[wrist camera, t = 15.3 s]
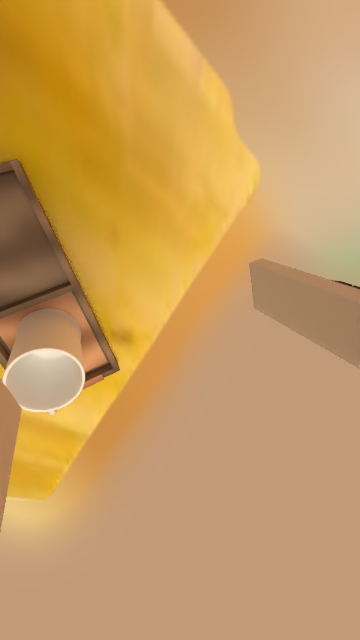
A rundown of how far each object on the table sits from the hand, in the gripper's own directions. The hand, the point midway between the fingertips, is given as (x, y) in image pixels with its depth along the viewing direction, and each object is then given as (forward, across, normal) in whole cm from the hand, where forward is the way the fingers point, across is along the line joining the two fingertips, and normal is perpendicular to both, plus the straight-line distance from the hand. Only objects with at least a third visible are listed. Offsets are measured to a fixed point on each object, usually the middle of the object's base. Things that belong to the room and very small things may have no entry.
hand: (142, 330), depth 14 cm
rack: (+29, -10, -5) cm, 31 cm away
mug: (+28, -11, -12) cm, 32 cm away
